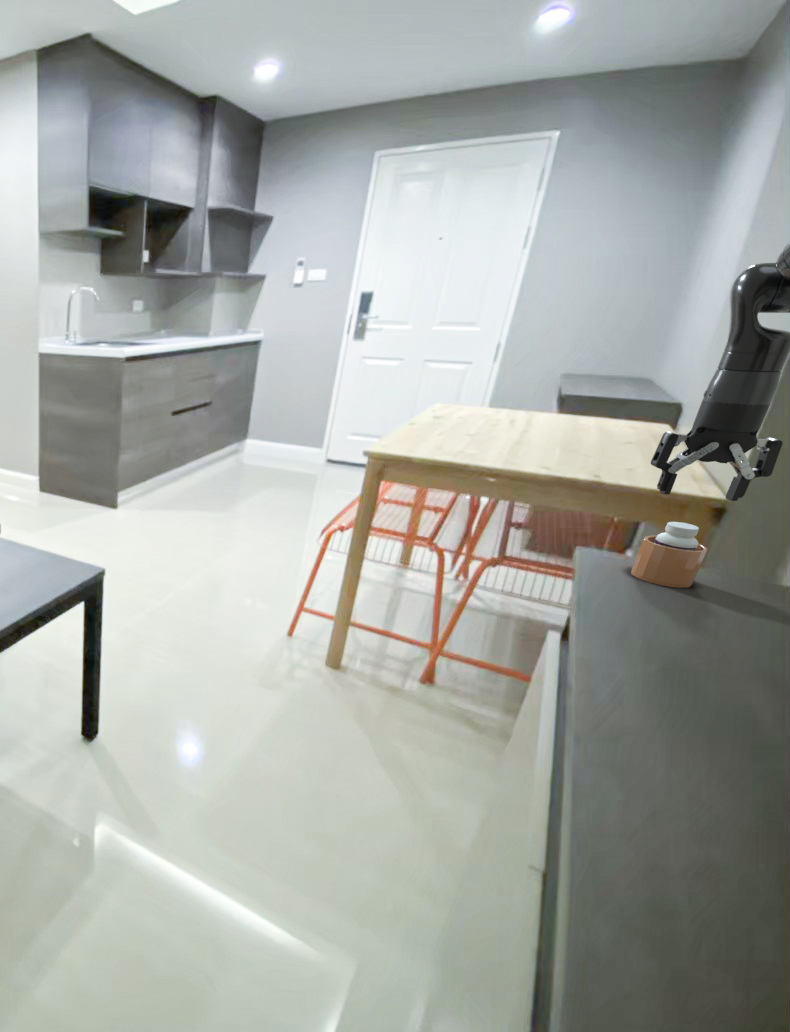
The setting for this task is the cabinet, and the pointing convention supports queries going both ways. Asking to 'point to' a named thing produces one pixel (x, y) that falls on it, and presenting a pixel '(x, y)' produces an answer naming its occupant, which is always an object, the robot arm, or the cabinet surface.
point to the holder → (667, 564)
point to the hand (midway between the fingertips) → (697, 496)
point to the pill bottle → (678, 536)
